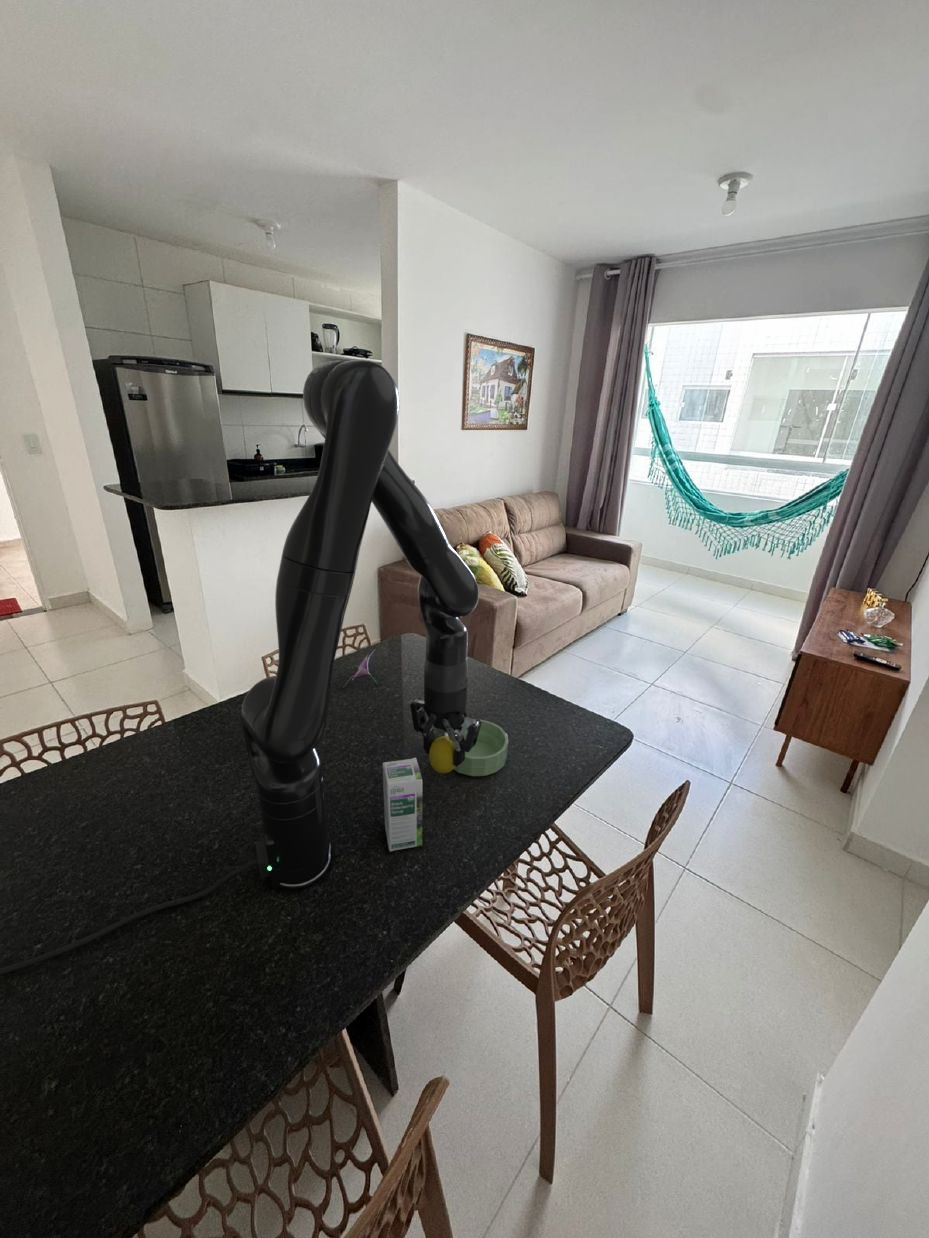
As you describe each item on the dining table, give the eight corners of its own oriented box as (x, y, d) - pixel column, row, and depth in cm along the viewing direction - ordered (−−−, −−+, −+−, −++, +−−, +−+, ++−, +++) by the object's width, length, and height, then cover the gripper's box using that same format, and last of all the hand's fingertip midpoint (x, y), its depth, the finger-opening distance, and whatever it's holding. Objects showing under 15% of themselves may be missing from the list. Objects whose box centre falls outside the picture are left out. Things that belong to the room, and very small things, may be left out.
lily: (374, 671, 142) (356, 644, 138) (401, 670, 134) (382, 641, 130) (346, 701, 134) (325, 673, 131) (372, 702, 126) (351, 672, 123)
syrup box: (388, 852, 85) (387, 784, 79) (384, 826, 90) (382, 760, 84) (422, 846, 87) (423, 779, 81) (416, 820, 92) (416, 755, 86)
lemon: (459, 763, 99) (460, 729, 96) (456, 783, 94) (457, 748, 91) (431, 761, 99) (431, 727, 96) (426, 780, 94) (426, 745, 91)
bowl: (460, 785, 100) (461, 765, 98) (434, 746, 111) (434, 727, 109) (517, 768, 106) (519, 748, 104) (487, 732, 117) (489, 714, 115)
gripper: (399, 676, 88) (400, 754, 95) (471, 702, 82) (467, 784, 89) (423, 659, 94) (423, 734, 101) (492, 681, 88) (487, 760, 95)
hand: (443, 757), depth 95 cm, fingers closed on lemon, 5 cm apart
